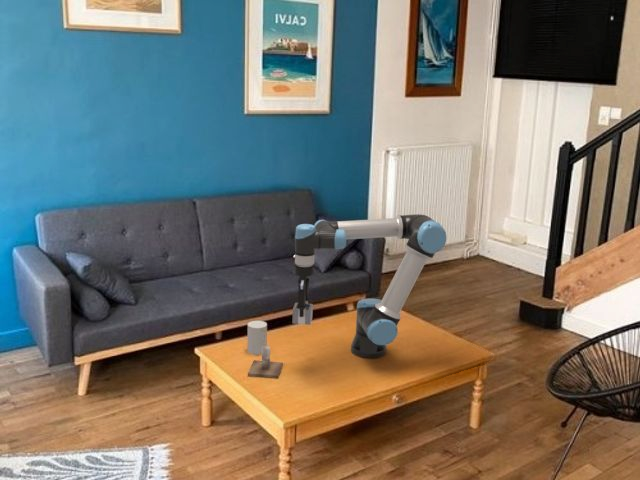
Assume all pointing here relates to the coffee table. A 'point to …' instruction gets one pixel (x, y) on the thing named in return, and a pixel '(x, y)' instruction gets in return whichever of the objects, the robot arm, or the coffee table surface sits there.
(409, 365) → the coffee table surface
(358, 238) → the robot arm
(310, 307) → the collar
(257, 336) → the gold-veined taupe cylinder
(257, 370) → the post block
